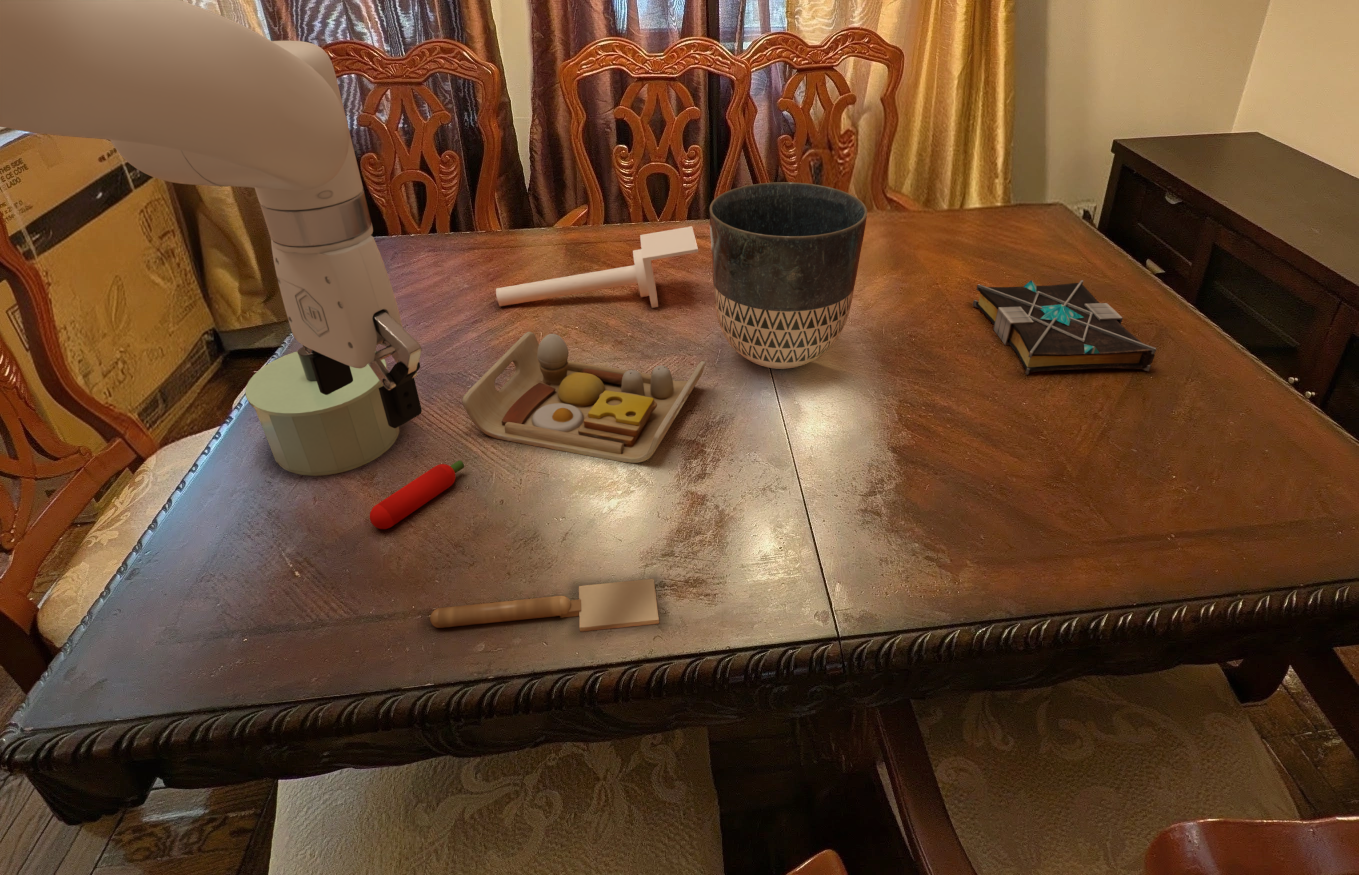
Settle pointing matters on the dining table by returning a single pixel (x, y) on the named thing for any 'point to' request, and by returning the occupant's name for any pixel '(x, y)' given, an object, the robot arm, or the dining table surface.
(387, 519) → the chili pepper
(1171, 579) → the dining table surface
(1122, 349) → the book
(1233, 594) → the dining table surface
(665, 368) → the toy food set
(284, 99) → the robot arm
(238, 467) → the dining table surface
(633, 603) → the spatula
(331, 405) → the pot lid
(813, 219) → the planter
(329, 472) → the pot
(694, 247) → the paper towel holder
